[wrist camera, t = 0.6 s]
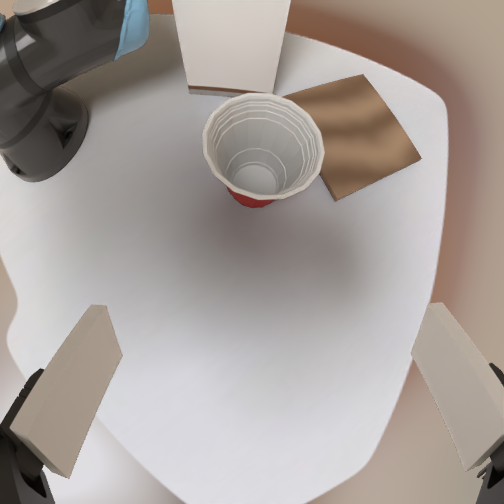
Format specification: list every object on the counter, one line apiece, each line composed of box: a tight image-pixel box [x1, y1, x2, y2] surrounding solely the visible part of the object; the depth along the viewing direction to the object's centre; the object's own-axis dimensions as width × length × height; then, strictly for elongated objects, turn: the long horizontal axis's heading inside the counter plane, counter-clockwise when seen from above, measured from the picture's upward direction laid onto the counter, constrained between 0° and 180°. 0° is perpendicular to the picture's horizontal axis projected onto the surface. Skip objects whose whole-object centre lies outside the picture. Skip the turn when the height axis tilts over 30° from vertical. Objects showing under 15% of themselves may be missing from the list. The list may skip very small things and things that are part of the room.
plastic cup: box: [202, 93, 325, 208], centre depth 30 cm, size 11×11×12 cm
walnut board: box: [282, 74, 422, 202], centre depth 38 cm, size 16×16×1 cm
